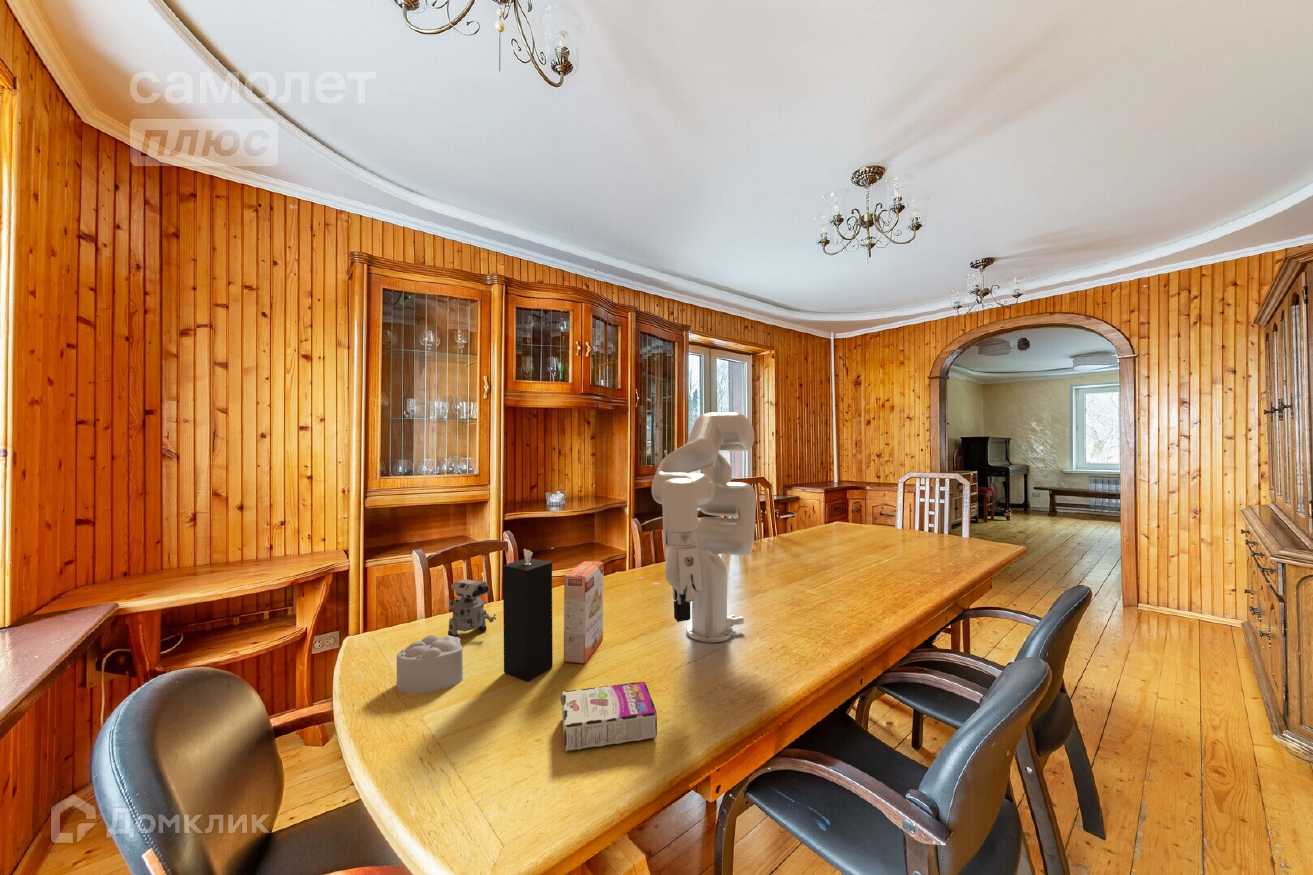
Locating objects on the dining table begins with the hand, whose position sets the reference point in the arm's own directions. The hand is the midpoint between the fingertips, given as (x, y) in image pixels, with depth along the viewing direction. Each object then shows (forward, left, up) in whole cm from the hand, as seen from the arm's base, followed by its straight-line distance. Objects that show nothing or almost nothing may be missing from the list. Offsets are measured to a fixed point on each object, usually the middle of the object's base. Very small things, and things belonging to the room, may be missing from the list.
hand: (682, 619), depth 104 cm
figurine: (+46, -41, -15) cm, 63 cm away
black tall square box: (+32, -17, -15) cm, 39 cm away
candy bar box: (+10, +11, -12) cm, 19 cm away
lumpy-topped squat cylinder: (+53, -19, -15) cm, 58 cm away
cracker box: (+18, -23, -15) cm, 32 cm away
